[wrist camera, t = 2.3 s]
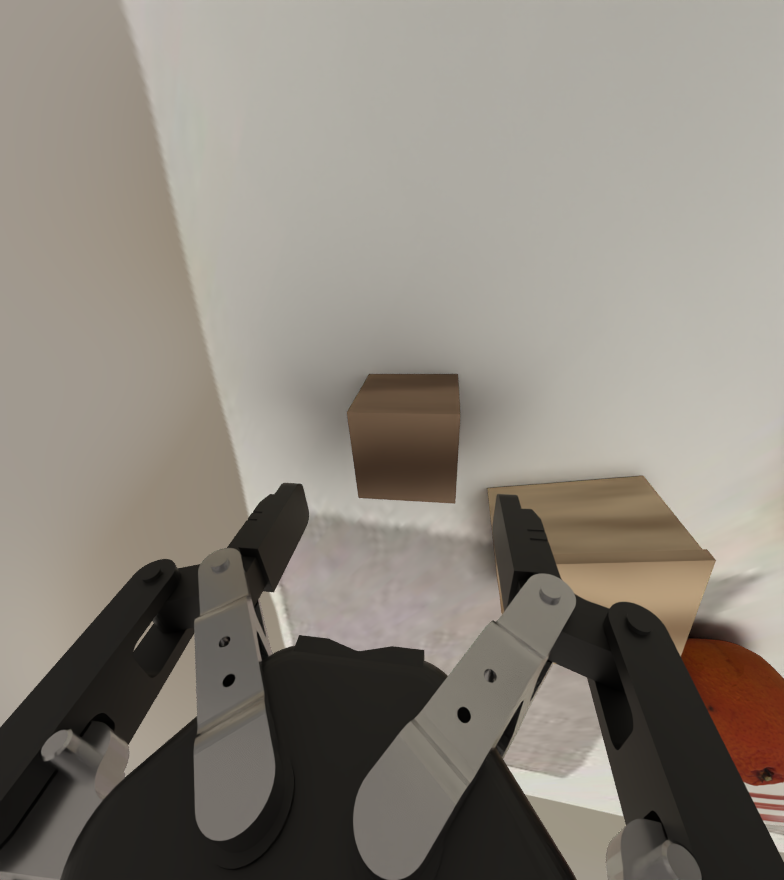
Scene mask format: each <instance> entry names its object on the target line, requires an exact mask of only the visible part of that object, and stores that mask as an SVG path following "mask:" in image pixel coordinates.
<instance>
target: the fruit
mask: <svg viewBox="0 0 784 880" xmlns="http://www.w3.org/2000/svg"><path fill="white" fill-rule="evenodd" d="M681 658H682V660H683V662H684V664H685V666H686V668H687V670H688V672H689V674H690V676H691V678H692V680H693V682H694V684H695V686H696V688H697V690H698V692H699V694H700V696H701V698H702V700H703V702H704V704H705V706H706V708H707V710H708V712H709V714H710V716H711V718H712V720H713V722H714V724H715V726H716V728H717V730H718V732H719V734H720V736H721V738H722V740H723V742H724V744H725V746H726V748H727V750H728V752H729V754H730V756H731V758H732V760H733V762H734V764H735V766H736V768H737V770H738V772H739V774H740V776H741V778H742V780H743V782H745V783H747V784H749V785H753V786H759V785H773V784H777V783H783V782H784V678H783V677H782V676H781V675H780V674H779V673H778V672H777V671H776V670H775V669H774V668H773V667H772V666H771V665H770V664H769V663H768V662H767V661H765V660H764V659H763V658H762V657H761V656H759V655H758V654H756V653H754V652H752V651H750V650H748V649H746V648H744V647H742V646H740V645H737V644H735V643H731V642H726V641H721V640H713V639H693V638H692V639H687V641H686V643H685V646H684V649H683V652H682V654H681Z"/></svg>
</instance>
